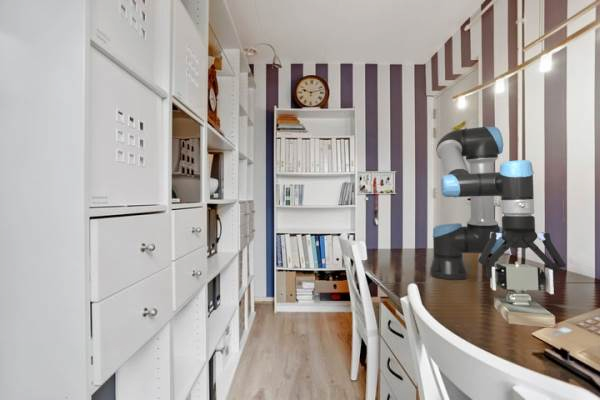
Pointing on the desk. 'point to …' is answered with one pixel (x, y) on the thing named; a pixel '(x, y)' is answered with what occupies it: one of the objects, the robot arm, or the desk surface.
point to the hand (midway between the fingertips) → (520, 290)
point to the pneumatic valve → (519, 281)
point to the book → (524, 313)
